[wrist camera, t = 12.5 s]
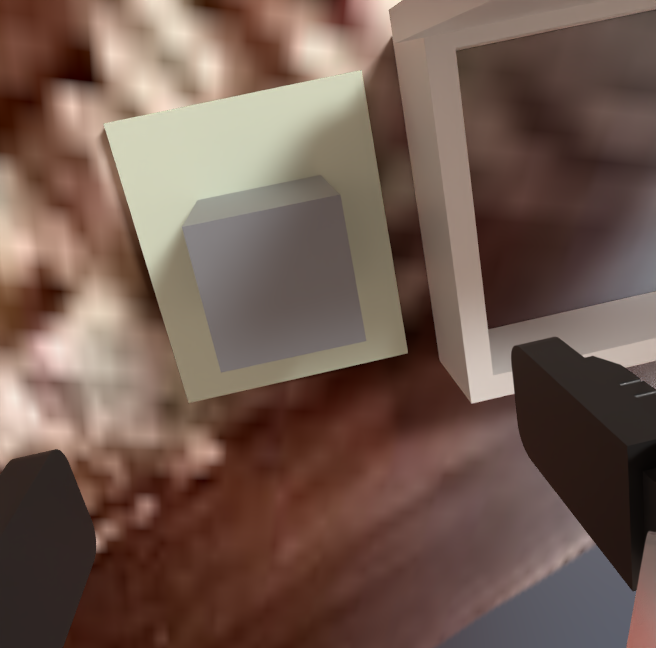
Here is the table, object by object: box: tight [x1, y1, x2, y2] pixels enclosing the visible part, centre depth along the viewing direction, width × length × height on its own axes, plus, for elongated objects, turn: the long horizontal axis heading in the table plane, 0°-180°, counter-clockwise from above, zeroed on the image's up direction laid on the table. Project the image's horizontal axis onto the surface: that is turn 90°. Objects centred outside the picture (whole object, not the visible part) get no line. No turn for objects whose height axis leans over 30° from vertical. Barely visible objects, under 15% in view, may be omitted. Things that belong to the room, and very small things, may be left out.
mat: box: [104, 70, 408, 403], centre depth 26 cm, size 10×12×1 cm
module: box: [182, 175, 366, 373], centre depth 23 cm, size 5×5×6 cm
